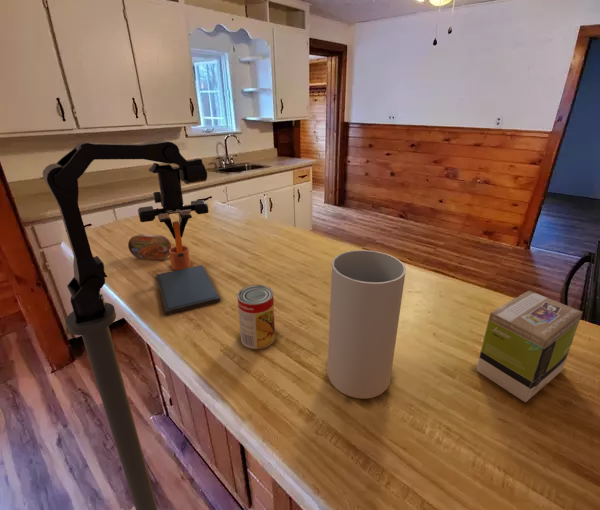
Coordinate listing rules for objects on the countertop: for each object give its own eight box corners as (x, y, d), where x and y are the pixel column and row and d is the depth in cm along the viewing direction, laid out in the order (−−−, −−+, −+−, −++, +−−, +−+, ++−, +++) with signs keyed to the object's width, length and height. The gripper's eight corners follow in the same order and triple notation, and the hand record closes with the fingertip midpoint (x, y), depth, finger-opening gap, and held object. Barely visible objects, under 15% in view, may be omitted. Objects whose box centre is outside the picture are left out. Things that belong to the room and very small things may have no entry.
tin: (130, 257, 117) (125, 235, 114) (135, 254, 120) (131, 232, 117) (170, 261, 115) (166, 238, 112) (174, 257, 118) (171, 234, 115)
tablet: (166, 315, 86) (165, 311, 86) (157, 277, 104) (156, 274, 104) (220, 301, 92) (219, 297, 92) (202, 268, 110) (202, 264, 110)
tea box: (512, 344, 76) (529, 288, 71) (562, 372, 69) (587, 311, 63) (473, 370, 69) (489, 310, 63) (525, 405, 61) (549, 340, 55)
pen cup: (173, 271, 108) (170, 254, 106) (170, 263, 113) (167, 247, 111) (192, 267, 111) (190, 251, 108) (189, 260, 116) (186, 244, 113)
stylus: (178, 257, 102) (173, 223, 98) (177, 255, 103) (172, 221, 99) (183, 256, 103) (178, 222, 99) (182, 254, 104) (177, 220, 100)
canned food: (280, 332, 80) (279, 289, 75) (264, 353, 74) (262, 307, 69) (252, 323, 83) (249, 281, 78) (234, 343, 76) (230, 298, 72)
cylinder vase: (327, 399, 62) (333, 282, 53) (326, 352, 74) (330, 249, 64) (396, 402, 62) (414, 284, 52) (383, 354, 73) (396, 250, 63)
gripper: (197, 178, 105) (202, 224, 111) (132, 184, 97) (141, 234, 103) (206, 185, 96) (211, 235, 102) (135, 193, 88) (145, 247, 94)
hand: (177, 237), depth 101 cm, fingers closed on stylus, 2 cm apart
